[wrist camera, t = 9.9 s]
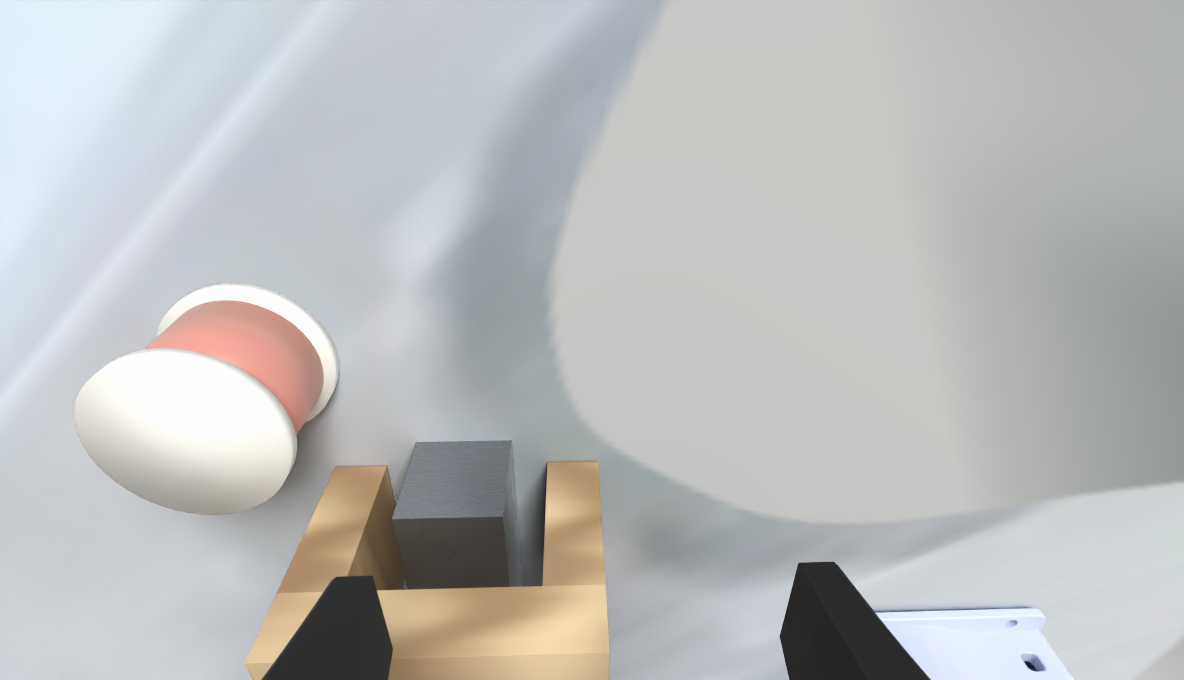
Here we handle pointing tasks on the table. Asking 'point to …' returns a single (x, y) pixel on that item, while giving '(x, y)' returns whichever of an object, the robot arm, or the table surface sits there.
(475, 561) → the dark grey bar
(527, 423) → the table surface
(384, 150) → the table surface
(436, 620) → the wooden u-shaped cradle
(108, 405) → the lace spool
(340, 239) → the table surface
